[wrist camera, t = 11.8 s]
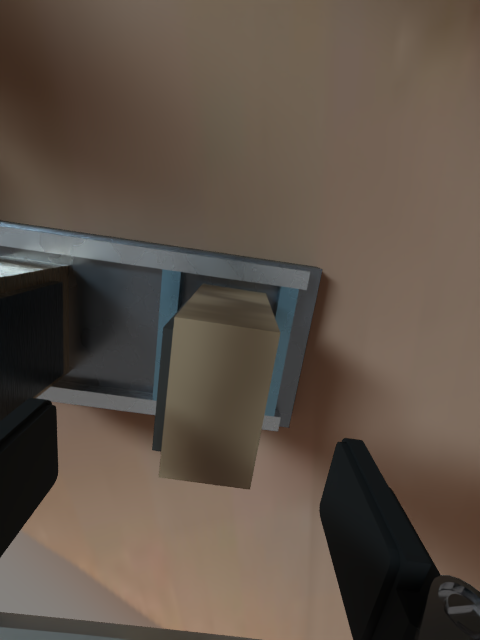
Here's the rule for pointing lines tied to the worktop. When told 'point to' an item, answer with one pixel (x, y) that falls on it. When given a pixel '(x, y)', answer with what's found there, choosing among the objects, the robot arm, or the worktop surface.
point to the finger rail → (125, 316)
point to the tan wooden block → (214, 386)
